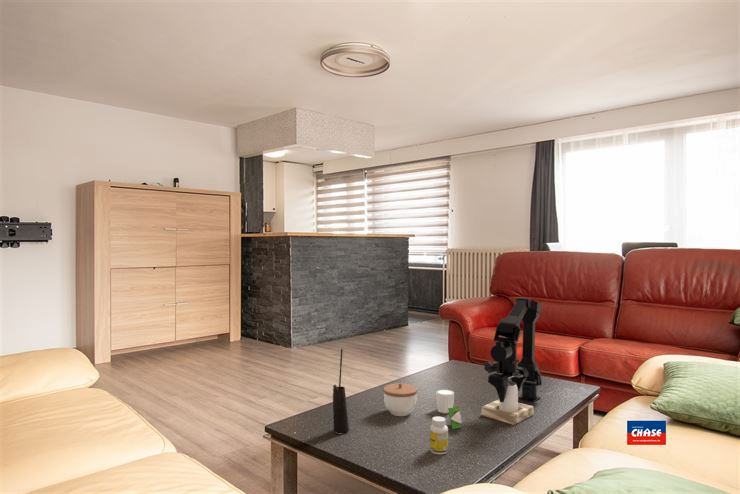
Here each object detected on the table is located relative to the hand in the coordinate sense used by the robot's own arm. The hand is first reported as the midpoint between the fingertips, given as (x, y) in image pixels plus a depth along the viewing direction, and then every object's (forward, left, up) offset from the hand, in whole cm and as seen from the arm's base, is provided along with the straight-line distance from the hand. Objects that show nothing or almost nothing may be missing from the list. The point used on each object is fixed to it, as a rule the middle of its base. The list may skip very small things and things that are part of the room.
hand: (508, 399), depth 167 cm
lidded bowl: (+26, -29, -6) cm, 40 cm away
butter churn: (+53, -32, -6) cm, 62 cm away
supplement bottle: (+41, +1, -6) cm, 41 cm away
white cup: (+12, -19, -6) cm, 24 cm away
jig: (-1, -1, -6) cm, 6 cm away
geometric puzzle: (+22, -7, -6) cm, 24 cm away
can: (0, 0, -6) cm, 6 cm away
